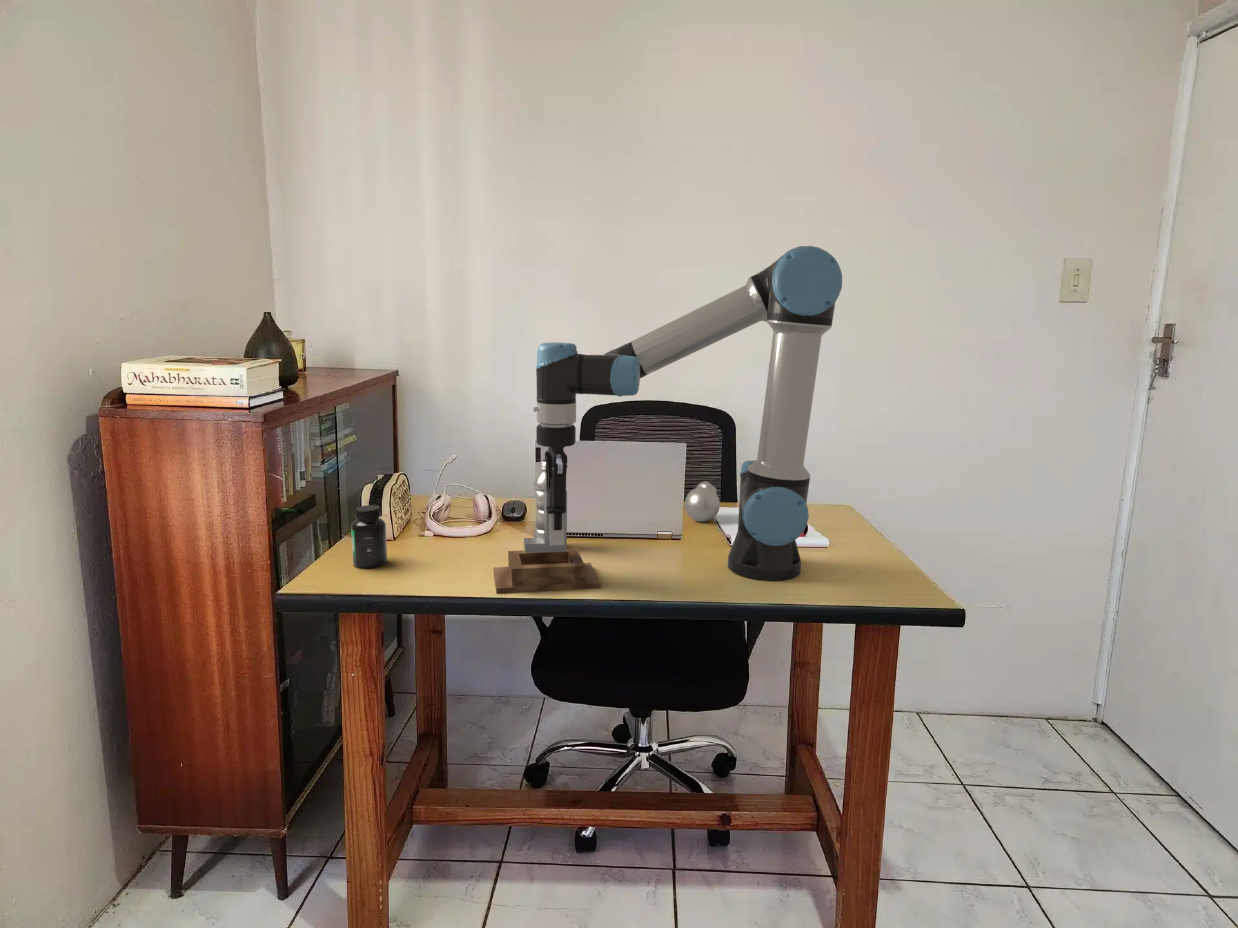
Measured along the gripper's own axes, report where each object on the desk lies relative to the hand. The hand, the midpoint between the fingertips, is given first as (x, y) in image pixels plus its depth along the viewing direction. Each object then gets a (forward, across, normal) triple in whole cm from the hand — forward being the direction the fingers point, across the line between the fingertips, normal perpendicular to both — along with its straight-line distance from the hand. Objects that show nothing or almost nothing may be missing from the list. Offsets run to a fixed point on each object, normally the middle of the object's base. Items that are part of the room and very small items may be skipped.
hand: (555, 540), depth 157 cm
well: (+8, 0, -2) cm, 8 cm away
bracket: (+2, 0, -2) cm, 3 cm away
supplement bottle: (+8, -15, -37) cm, 41 cm away
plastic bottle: (+8, -20, +1) cm, 22 cm away
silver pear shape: (+8, -37, +42) cm, 57 cm away
